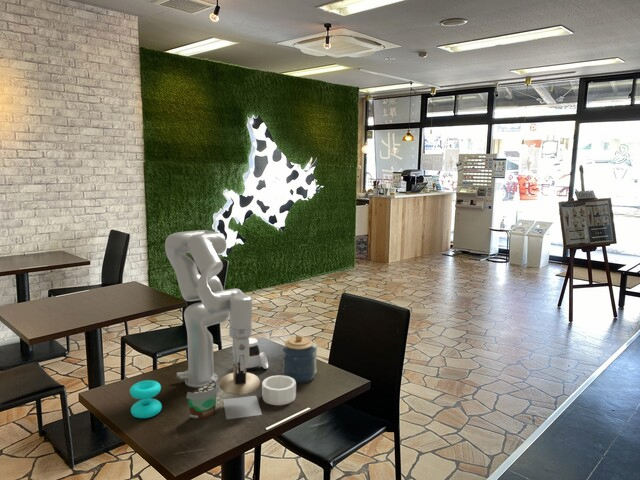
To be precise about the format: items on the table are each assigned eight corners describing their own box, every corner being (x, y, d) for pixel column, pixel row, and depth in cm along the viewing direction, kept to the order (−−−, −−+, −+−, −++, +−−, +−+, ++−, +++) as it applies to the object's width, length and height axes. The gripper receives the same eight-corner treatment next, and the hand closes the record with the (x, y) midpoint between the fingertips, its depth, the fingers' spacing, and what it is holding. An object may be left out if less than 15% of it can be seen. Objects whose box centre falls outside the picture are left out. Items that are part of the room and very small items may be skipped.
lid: (220, 396, 160) (220, 376, 158) (217, 376, 173) (218, 358, 171) (262, 392, 163) (263, 373, 162) (256, 373, 177) (257, 355, 175)
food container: (200, 426, 157) (199, 397, 155) (187, 420, 160) (186, 392, 158) (226, 410, 167) (226, 383, 165) (213, 405, 170) (212, 378, 169)
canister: (311, 385, 186) (311, 342, 184) (278, 382, 189) (278, 339, 186) (317, 371, 199) (318, 330, 196) (287, 368, 201) (287, 328, 198)
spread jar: (237, 364, 205) (236, 338, 203) (262, 359, 210) (262, 334, 208) (246, 375, 194) (245, 348, 193) (272, 370, 200) (272, 343, 198)
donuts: (164, 386, 162) (134, 394, 156) (165, 414, 164) (135, 423, 158) (155, 376, 170) (126, 383, 164) (156, 402, 172) (127, 410, 166)
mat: (226, 420, 160) (226, 419, 160) (223, 400, 174) (223, 399, 173) (262, 415, 163) (262, 414, 163) (256, 396, 177) (256, 395, 177)
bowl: (265, 407, 169) (265, 391, 168) (260, 392, 180) (260, 377, 179) (298, 403, 172) (298, 388, 171) (291, 388, 183) (291, 373, 182)
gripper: (254, 339, 157) (253, 390, 161) (248, 321, 173) (247, 368, 177) (231, 341, 155) (231, 393, 159) (227, 322, 171) (226, 369, 175)
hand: (239, 379), depth 168 cm, fingers closed on lid, 4 cm apart
